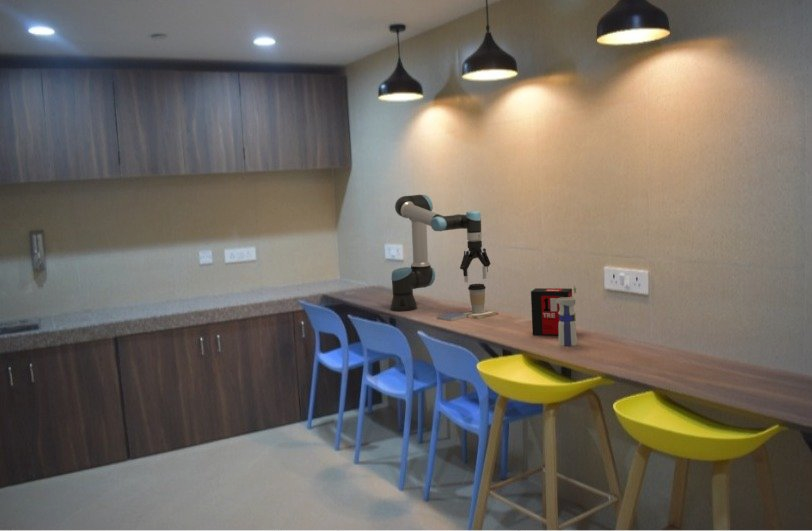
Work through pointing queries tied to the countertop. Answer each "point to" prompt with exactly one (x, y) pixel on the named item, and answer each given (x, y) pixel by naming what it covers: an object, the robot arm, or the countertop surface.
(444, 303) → the countertop surface
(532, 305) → the cleaning product box
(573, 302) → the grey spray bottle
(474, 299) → the coffee cup
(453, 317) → the ink pad
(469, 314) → the board
